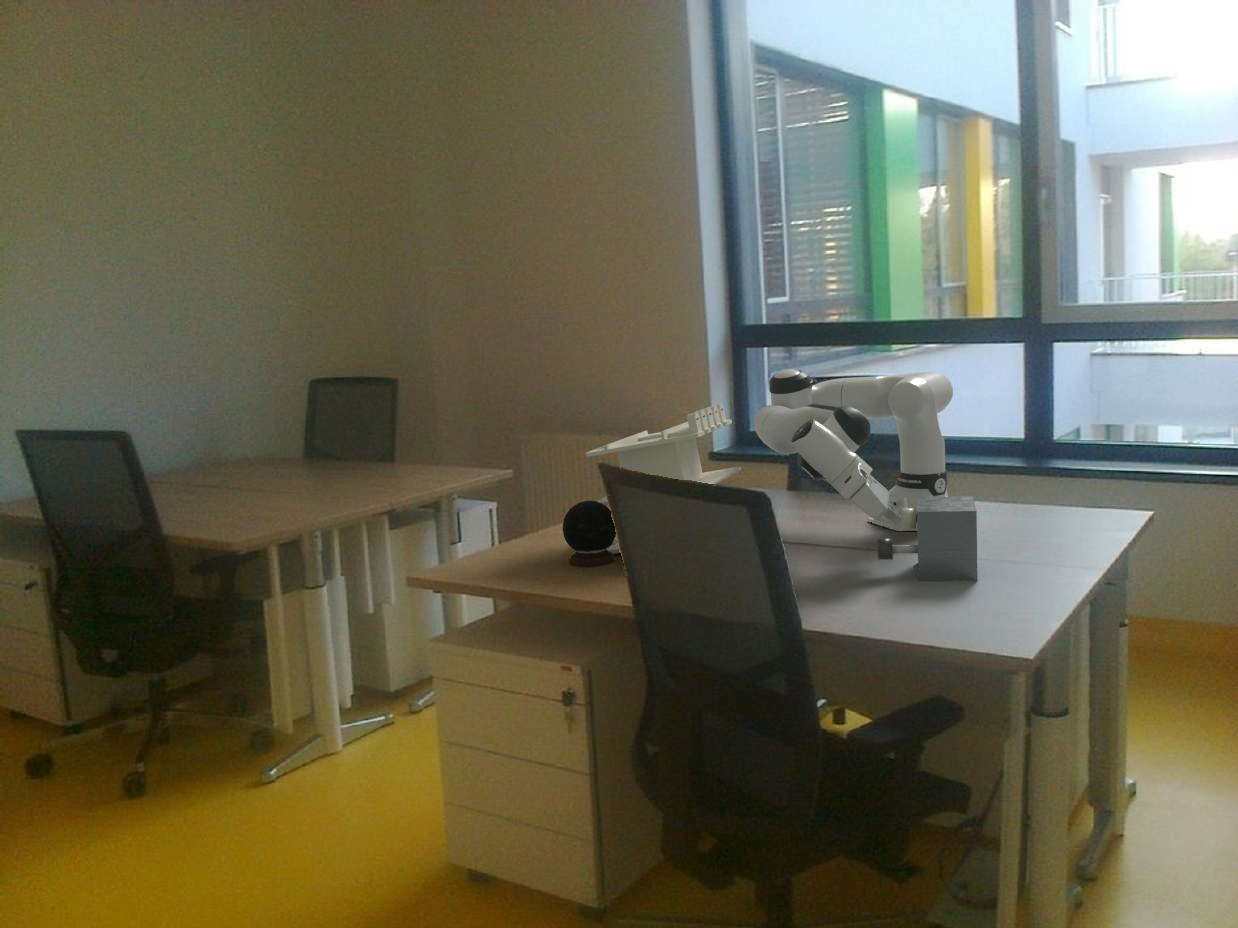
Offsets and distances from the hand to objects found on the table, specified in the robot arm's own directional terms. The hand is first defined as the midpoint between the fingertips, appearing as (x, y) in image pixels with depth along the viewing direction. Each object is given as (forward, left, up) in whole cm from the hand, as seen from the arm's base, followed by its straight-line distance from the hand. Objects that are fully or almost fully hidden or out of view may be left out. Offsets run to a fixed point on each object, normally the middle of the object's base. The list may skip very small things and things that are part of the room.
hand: (899, 521), depth 257 cm
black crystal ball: (-55, -48, -11) cm, 74 cm away
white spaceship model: (-56, -24, -11) cm, 62 cm away
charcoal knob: (+6, -5, -7) cm, 10 cm away
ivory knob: (+4, +4, -2) cm, 6 cm away
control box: (+10, +4, -10) cm, 15 cm away
